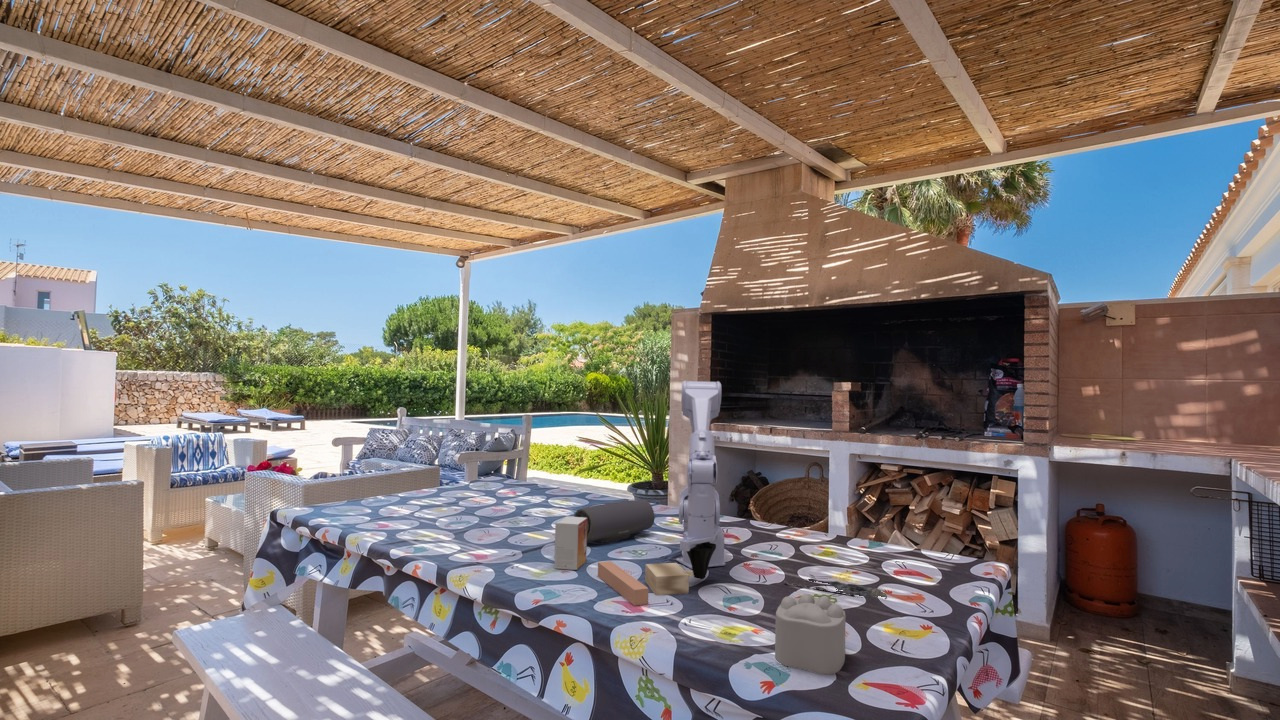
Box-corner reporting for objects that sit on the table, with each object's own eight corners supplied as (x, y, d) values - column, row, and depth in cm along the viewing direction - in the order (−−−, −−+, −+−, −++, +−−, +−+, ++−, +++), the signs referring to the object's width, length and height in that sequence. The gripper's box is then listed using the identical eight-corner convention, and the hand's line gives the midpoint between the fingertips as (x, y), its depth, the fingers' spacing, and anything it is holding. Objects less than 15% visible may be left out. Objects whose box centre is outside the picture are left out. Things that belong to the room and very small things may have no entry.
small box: (577, 571, 144) (578, 524, 144) (553, 569, 145) (554, 522, 145) (587, 561, 152) (588, 517, 152) (564, 559, 153) (565, 515, 153)
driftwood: (889, 596, 134) (889, 585, 134) (884, 605, 128) (884, 595, 128) (792, 580, 144) (792, 571, 144) (783, 588, 138) (783, 579, 138)
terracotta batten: (610, 574, 142) (610, 561, 142) (648, 603, 124) (648, 588, 124) (597, 575, 141) (598, 562, 141) (634, 605, 122) (634, 590, 122)
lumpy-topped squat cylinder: (769, 663, 99) (770, 606, 99) (787, 634, 110) (788, 584, 111) (838, 678, 94) (839, 619, 95) (850, 646, 106) (851, 594, 106)
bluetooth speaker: (633, 530, 186) (634, 495, 186) (655, 536, 179) (656, 500, 179) (570, 541, 170) (571, 504, 171) (591, 549, 163) (593, 510, 164)
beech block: (675, 581, 139) (676, 562, 139) (688, 594, 131) (689, 575, 131) (645, 582, 138) (645, 564, 138) (655, 596, 129) (656, 576, 129)
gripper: (700, 507, 146) (699, 566, 146) (668, 517, 134) (666, 582, 134) (728, 511, 142) (727, 572, 142) (697, 522, 130) (696, 589, 130)
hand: (699, 577), depth 137 cm, fingers closed
